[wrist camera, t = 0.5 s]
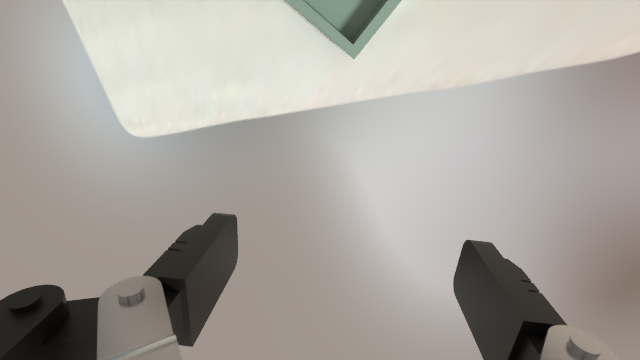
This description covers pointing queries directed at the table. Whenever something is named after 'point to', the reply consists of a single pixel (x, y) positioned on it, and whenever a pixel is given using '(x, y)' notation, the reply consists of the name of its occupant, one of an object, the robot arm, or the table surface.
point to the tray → (346, 19)
